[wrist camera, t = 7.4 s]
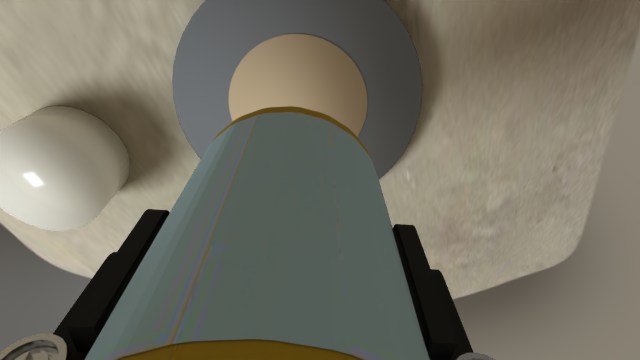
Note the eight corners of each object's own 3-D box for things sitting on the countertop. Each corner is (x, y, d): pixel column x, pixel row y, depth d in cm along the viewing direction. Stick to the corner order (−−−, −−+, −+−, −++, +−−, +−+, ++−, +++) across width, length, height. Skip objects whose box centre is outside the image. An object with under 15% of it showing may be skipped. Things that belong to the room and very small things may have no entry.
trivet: (161, -50, 19) (152, -51, 18) (445, -23, 19) (452, -22, 18) (191, 192, 26) (186, 200, 26) (393, 204, 27) (396, 213, 26)
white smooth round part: (6, 101, 23) (-48, 126, 20) (119, 109, 23) (85, 135, 20) (41, 193, 27) (1, 227, 23) (138, 199, 27) (113, 233, 23)
